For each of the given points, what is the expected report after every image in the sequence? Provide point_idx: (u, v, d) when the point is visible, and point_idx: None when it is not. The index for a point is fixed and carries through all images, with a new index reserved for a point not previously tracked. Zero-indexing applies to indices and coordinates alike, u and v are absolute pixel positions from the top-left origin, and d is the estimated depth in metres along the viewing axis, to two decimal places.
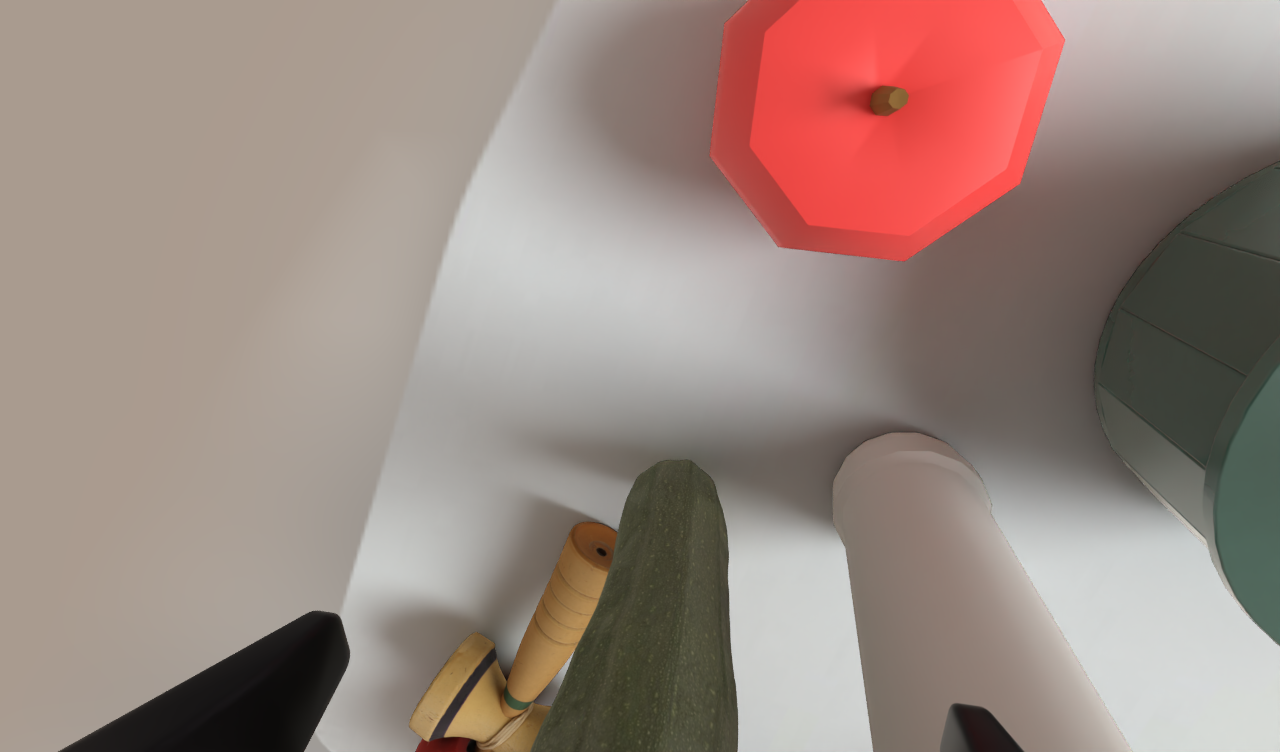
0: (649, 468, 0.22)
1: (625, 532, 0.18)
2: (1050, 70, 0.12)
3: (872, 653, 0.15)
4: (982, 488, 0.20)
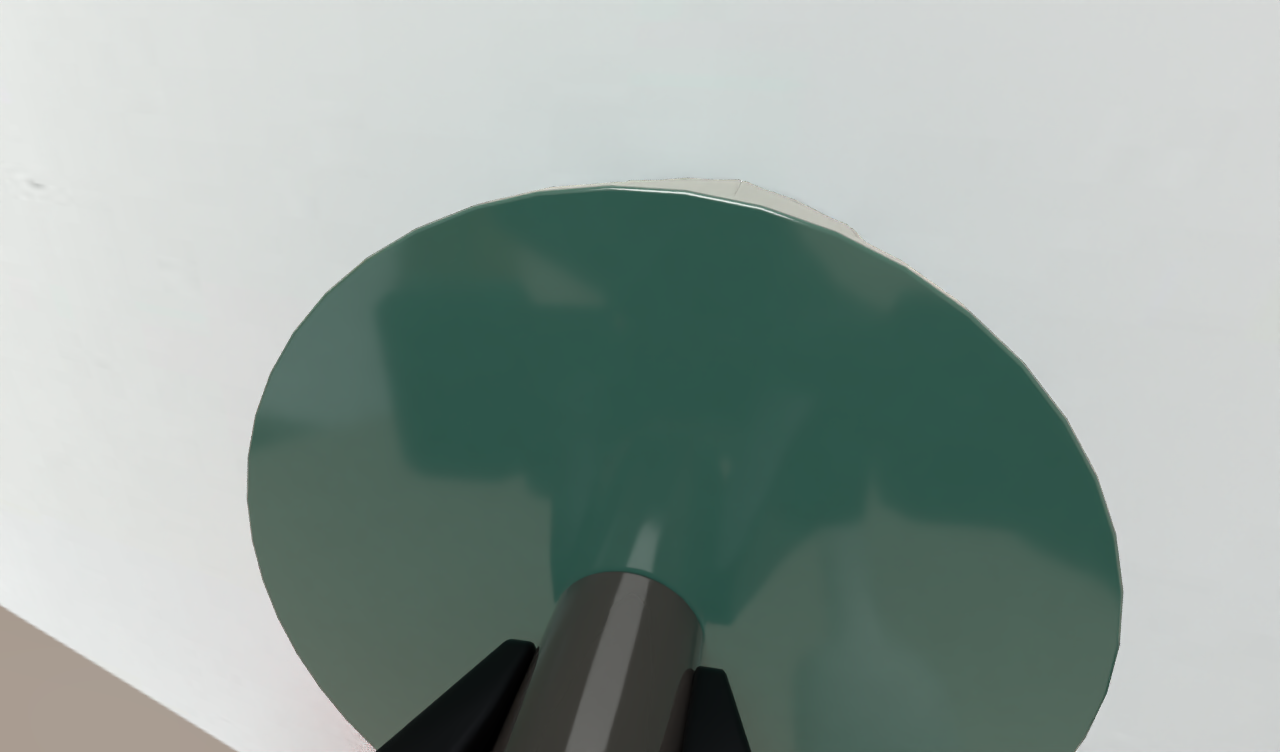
0: None
1: None
2: None
3: None
4: None
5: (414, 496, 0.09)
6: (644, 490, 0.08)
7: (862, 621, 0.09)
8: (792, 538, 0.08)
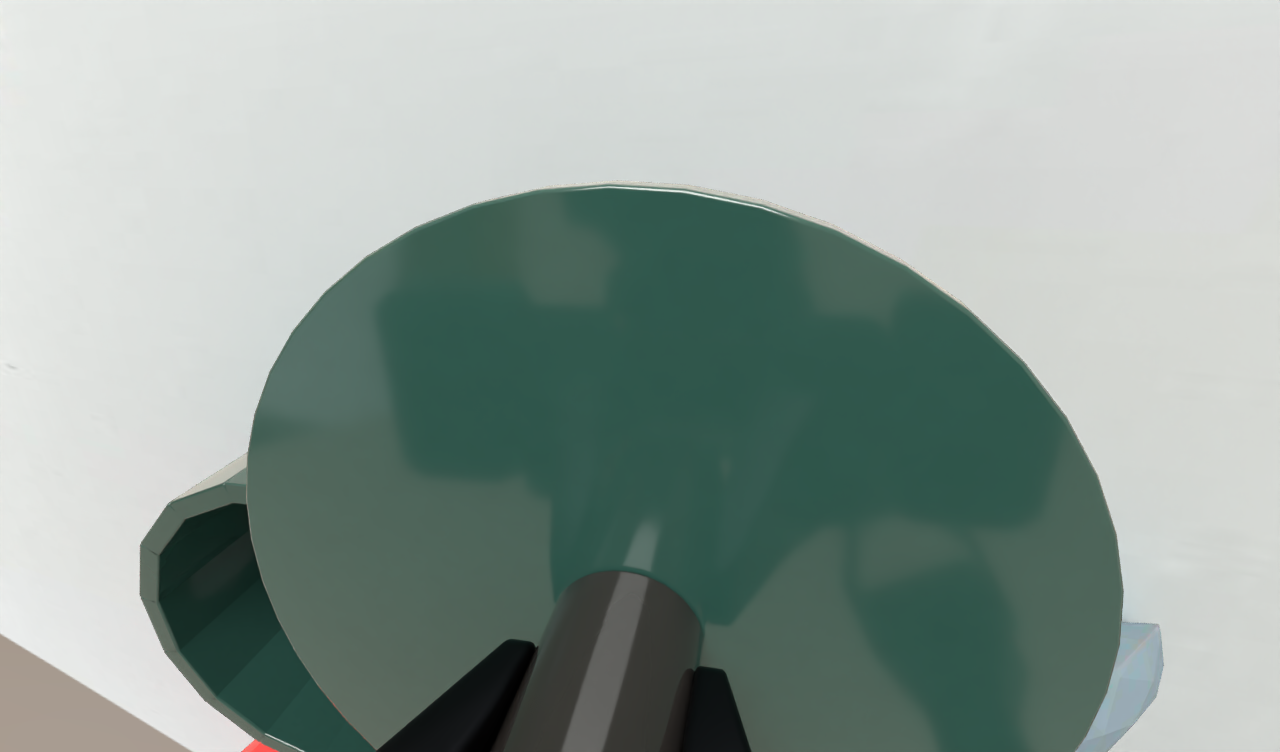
0: None
1: None
2: None
3: None
4: None
5: (413, 495, 0.09)
6: (644, 489, 0.08)
7: (862, 620, 0.09)
8: (792, 537, 0.08)
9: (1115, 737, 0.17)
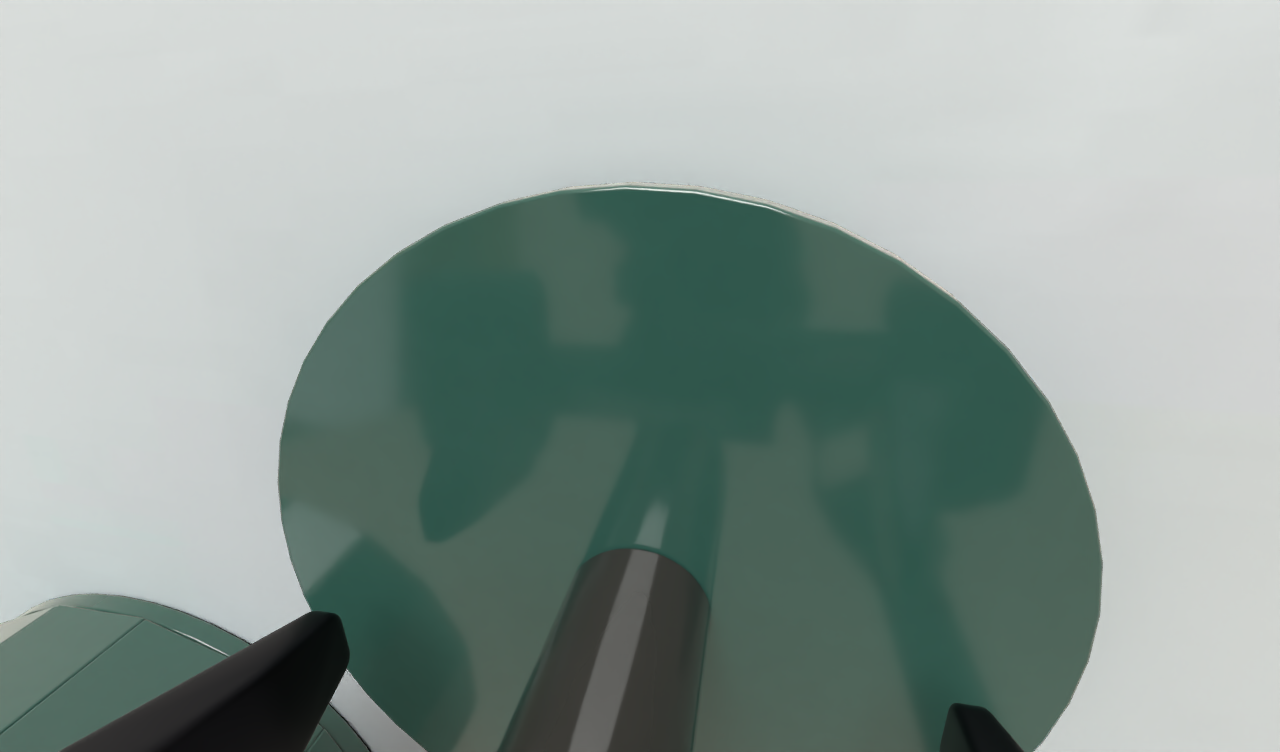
0: None
1: None
2: None
3: None
4: None
5: (438, 478, 0.10)
6: (655, 471, 0.09)
7: (860, 594, 0.09)
8: (794, 515, 0.09)
9: None
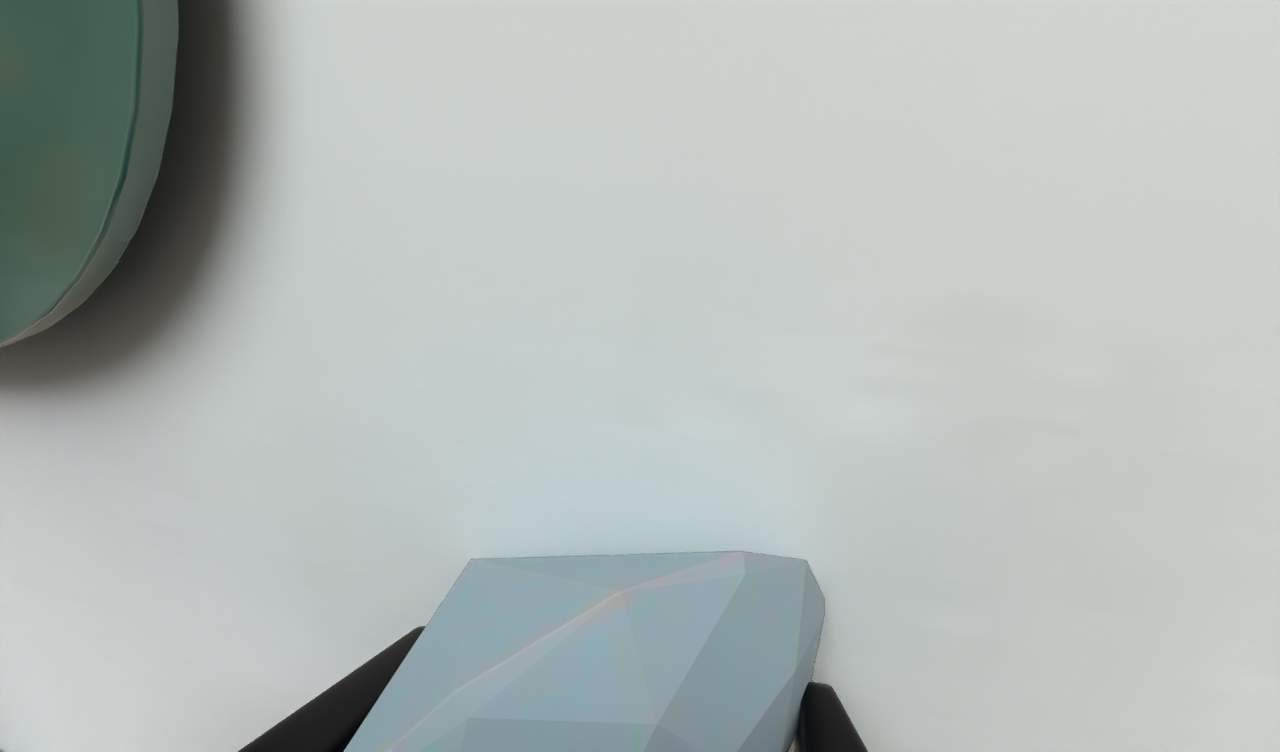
0: None
1: None
2: None
3: None
4: None
5: None
6: None
7: None
8: None
9: None
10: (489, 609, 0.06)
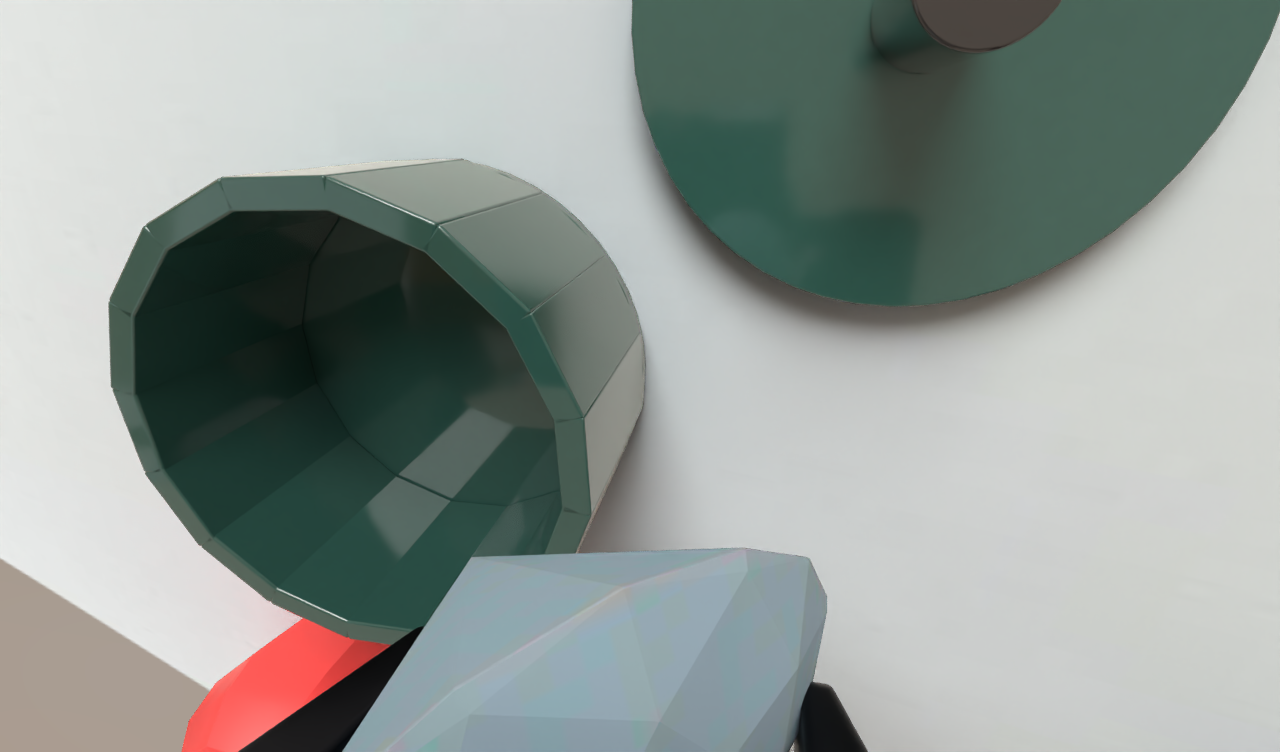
0: None
1: None
2: (233, 710, 0.21)
3: None
4: None
5: None
6: None
7: None
8: None
9: None
10: (490, 606, 0.06)
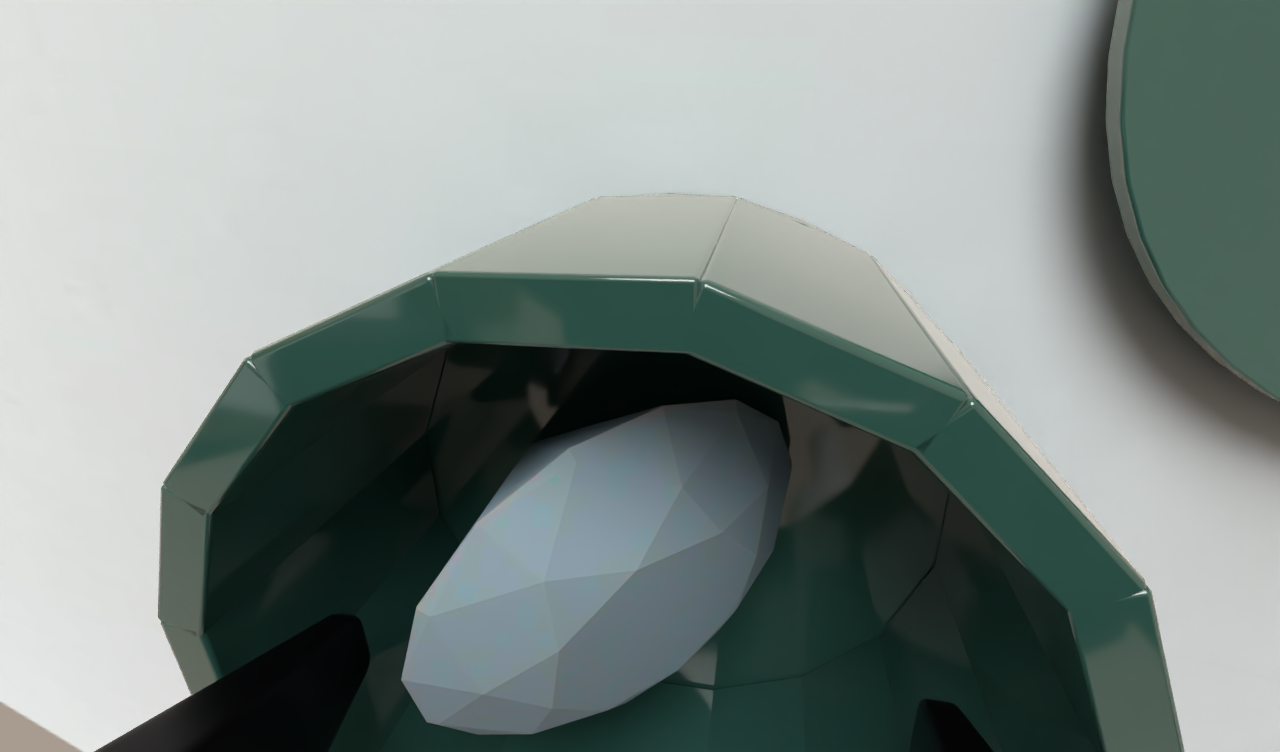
0: None
1: None
2: None
3: None
4: None
5: None
6: None
7: None
8: None
9: (590, 594, 0.08)
10: (569, 437, 0.10)
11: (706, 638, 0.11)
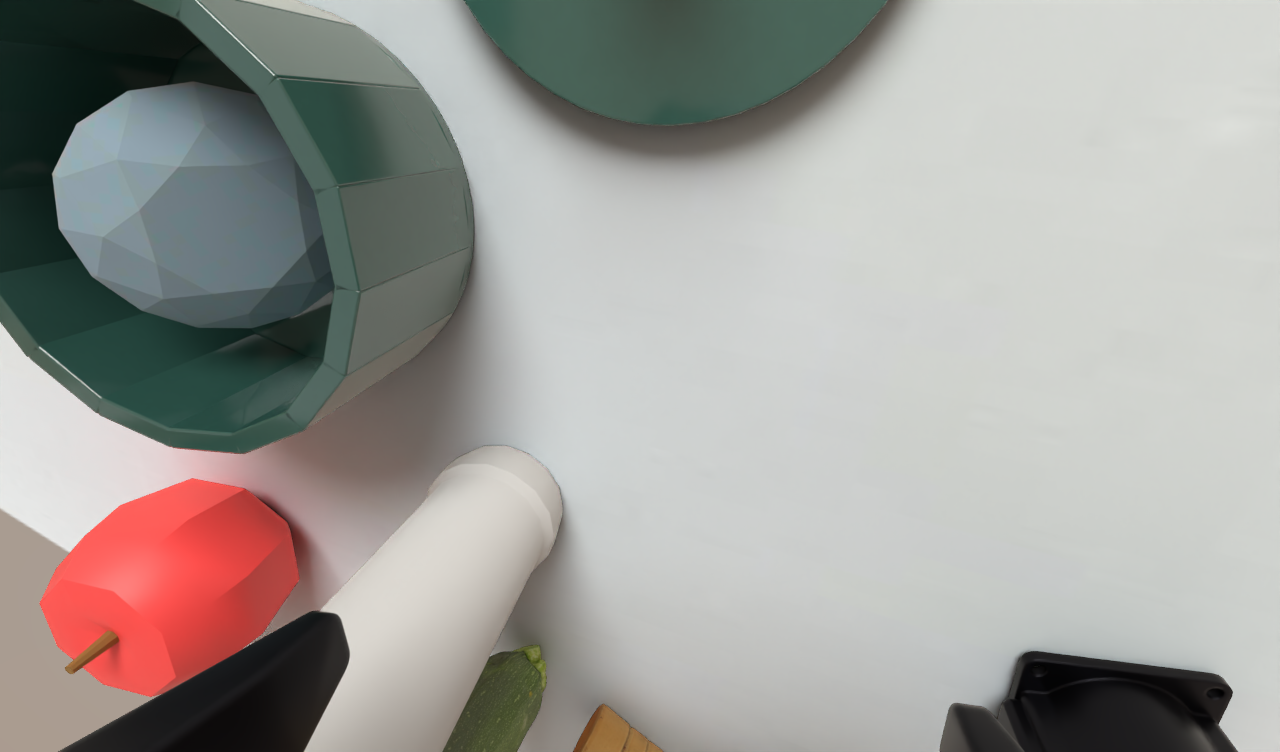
0: None
1: None
2: (90, 549, 0.22)
3: None
4: (445, 474, 0.22)
5: None
6: None
7: None
8: None
9: (150, 175, 0.16)
10: None
11: (287, 266, 0.19)
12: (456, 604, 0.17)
